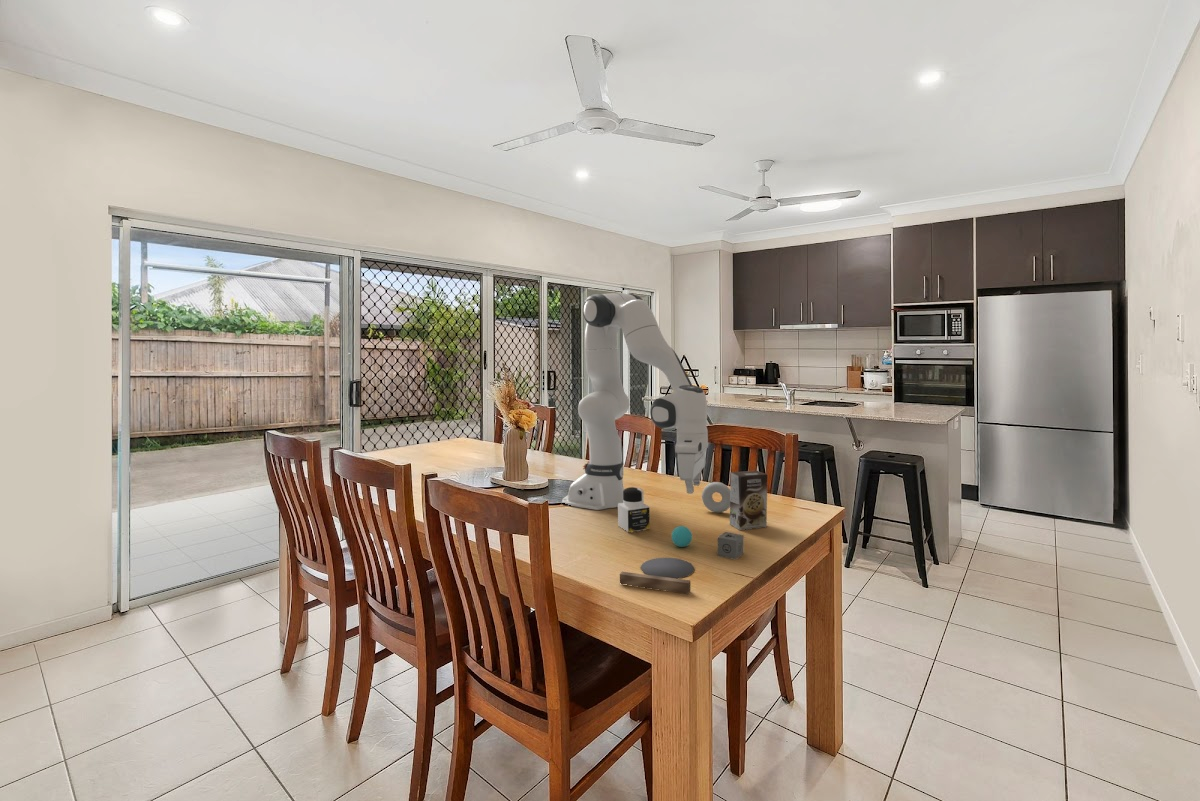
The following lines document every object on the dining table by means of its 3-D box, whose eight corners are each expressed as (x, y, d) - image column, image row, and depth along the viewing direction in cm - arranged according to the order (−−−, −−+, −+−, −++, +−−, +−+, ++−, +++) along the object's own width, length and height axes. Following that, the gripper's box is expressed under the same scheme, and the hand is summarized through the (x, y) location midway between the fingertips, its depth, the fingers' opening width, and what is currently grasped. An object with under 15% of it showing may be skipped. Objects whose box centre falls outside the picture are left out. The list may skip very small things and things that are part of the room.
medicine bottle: (628, 533, 169) (627, 492, 167) (617, 526, 175) (617, 487, 174) (649, 529, 171) (649, 489, 170) (638, 523, 178) (638, 484, 177)
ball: (669, 548, 155) (669, 528, 155) (674, 541, 161) (674, 522, 160) (689, 550, 153) (689, 530, 153) (693, 544, 159) (693, 524, 158)
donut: (733, 512, 187) (733, 482, 186) (731, 515, 184) (731, 484, 182) (703, 509, 191) (703, 479, 190) (700, 512, 188) (700, 481, 187)
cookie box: (739, 530, 169) (740, 476, 167) (729, 524, 175) (729, 471, 173) (767, 527, 171) (768, 474, 170) (756, 521, 177) (756, 469, 176)
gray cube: (725, 550, 154) (725, 531, 153) (743, 553, 151) (743, 535, 151) (717, 556, 150) (717, 537, 149) (736, 559, 147) (736, 540, 146)
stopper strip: (619, 584, 133) (619, 574, 133) (622, 581, 134) (621, 571, 134) (688, 594, 127) (688, 583, 127) (690, 591, 129) (690, 580, 129)
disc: (634, 575, 138) (634, 574, 138) (649, 555, 150) (649, 555, 150) (688, 582, 134) (688, 581, 134) (698, 561, 146) (698, 560, 146)
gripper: (689, 436, 178) (690, 480, 179) (673, 447, 159) (674, 497, 160) (709, 436, 176) (710, 481, 177) (696, 448, 157) (697, 498, 158)
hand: (693, 489), depth 168 cm, fingers open, 8 cm apart
